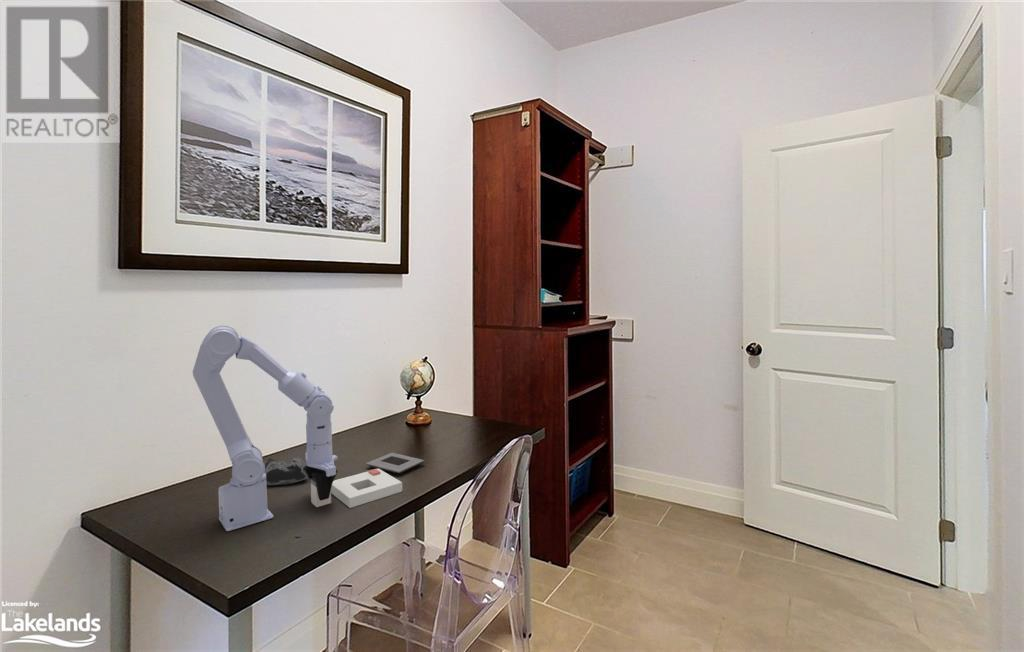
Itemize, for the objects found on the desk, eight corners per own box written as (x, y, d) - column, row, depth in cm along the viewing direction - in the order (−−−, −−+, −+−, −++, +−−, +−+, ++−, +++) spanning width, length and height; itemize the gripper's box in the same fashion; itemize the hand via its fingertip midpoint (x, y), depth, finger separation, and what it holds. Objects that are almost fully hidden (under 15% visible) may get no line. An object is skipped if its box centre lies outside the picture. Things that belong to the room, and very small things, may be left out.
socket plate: (349, 508, 114) (349, 495, 114) (328, 491, 124) (328, 479, 124) (402, 491, 124) (402, 480, 123) (378, 476, 133) (378, 466, 133)
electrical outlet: (424, 467, 142) (424, 459, 142) (399, 479, 133) (398, 470, 133) (392, 459, 148) (391, 451, 148) (365, 470, 139) (365, 462, 139)
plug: (316, 507, 115) (315, 483, 114) (311, 502, 117) (310, 478, 117) (331, 502, 117) (330, 479, 117) (325, 498, 120) (325, 474, 119)
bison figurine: (309, 485, 129) (312, 469, 138) (308, 459, 128) (311, 446, 137) (259, 491, 125) (266, 475, 134) (257, 465, 124) (264, 451, 133)
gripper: (347, 445, 113) (349, 501, 114) (324, 431, 124) (325, 482, 125) (317, 452, 109) (319, 510, 110) (296, 437, 119) (297, 490, 120)
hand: (321, 496), depth 117 cm, fingers closed on plug, 3 cm apart
